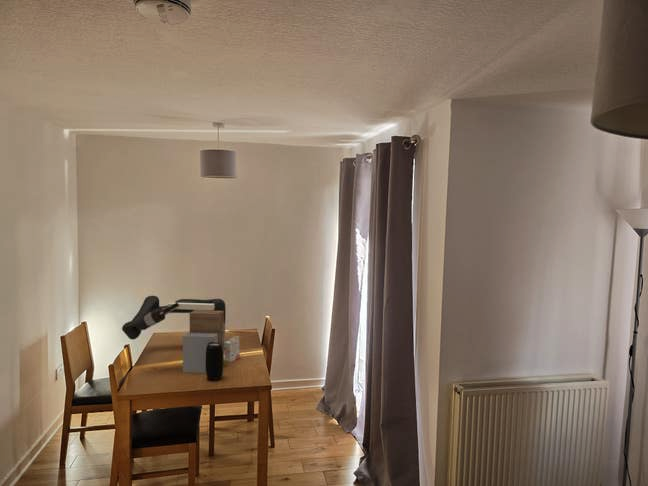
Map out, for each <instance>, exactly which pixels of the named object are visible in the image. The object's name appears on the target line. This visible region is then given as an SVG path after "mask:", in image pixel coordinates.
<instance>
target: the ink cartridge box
mask: <svg viewBox="0 0 648 486" xmlns="http://www.w3.org/2000/svg"><path fill="white" fill-rule="evenodd" d="M224 345H225V349H224V362H229V363H230V362H231V363H232V362H234V361H236V360H238V359H240V335H235V336H233V337H230V338H229V340H227V341H225V342H224Z"/></svg>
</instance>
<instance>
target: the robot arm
mask: <svg viewBox="0 0 648 486" xmlns="http://www.w3.org/2000/svg"><path fill="white" fill-rule="evenodd" d="M173 302H174V303H175V304H173V305H172V306H169V307H168V304H167V305H160V298H159V297H158V296H156V295H149V296H146V297H145V298H144V300H143V302H142V305H141V306H140V308H139V310H138V312H137V314H136V315H135V316H134V317H133V318H132V319H131V320H130V321H127V322H125V323H124V324H123V325H122V326H121V330H122V332H123V333H124V334H125V335H126V336H127V338H128V339H129V340H136V339H138V338H139V337H140V335H141V334H142V331H145V330H147V329H149V328H151V327H153V326H155V325H157V324H159V323H160V322H162V321H164V320H165V319H166V315H169V314H190V312H192V311H194V310H190V309H174V308H176V307H178V306H179V304H178V303H206V304H215V309H214V310H208V311H224V342H226V303H225V301H224V300H223V299H222V298H212V299H210V298H209V299H197V298H195V299H193V298H181V299H177V300H175V301H173ZM224 348H225V345H224Z"/></svg>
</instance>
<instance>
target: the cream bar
mask: <svg viewBox="0 0 648 486" xmlns="http://www.w3.org/2000/svg"><path fill="white" fill-rule="evenodd" d="M174 302H175V301H172V302H168V303H167V305H168V307H169V306H172V305H173V304H175V303H174ZM178 304H179V306H178V307H176V308H174V309H190V310H214V309H215V304H206V303H178Z"/></svg>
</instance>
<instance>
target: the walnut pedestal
mask: <svg viewBox="0 0 648 486" xmlns="http://www.w3.org/2000/svg"><path fill="white" fill-rule="evenodd" d="M189 333H212V334H218V342H221V343H222V350H223V364H225V349H224V311H208V310H194V311H192V312H190V313H189Z"/></svg>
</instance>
